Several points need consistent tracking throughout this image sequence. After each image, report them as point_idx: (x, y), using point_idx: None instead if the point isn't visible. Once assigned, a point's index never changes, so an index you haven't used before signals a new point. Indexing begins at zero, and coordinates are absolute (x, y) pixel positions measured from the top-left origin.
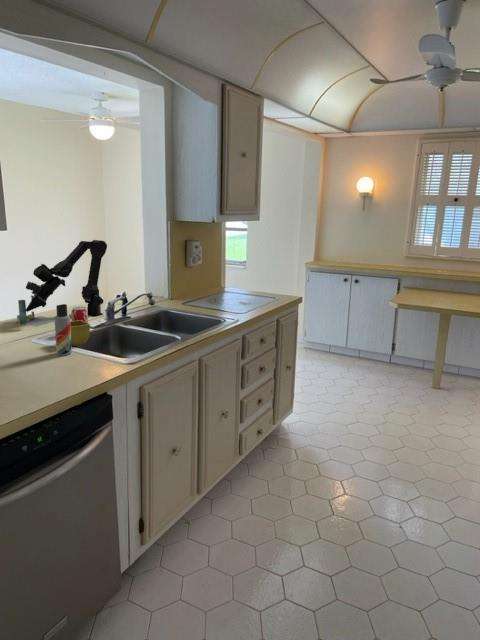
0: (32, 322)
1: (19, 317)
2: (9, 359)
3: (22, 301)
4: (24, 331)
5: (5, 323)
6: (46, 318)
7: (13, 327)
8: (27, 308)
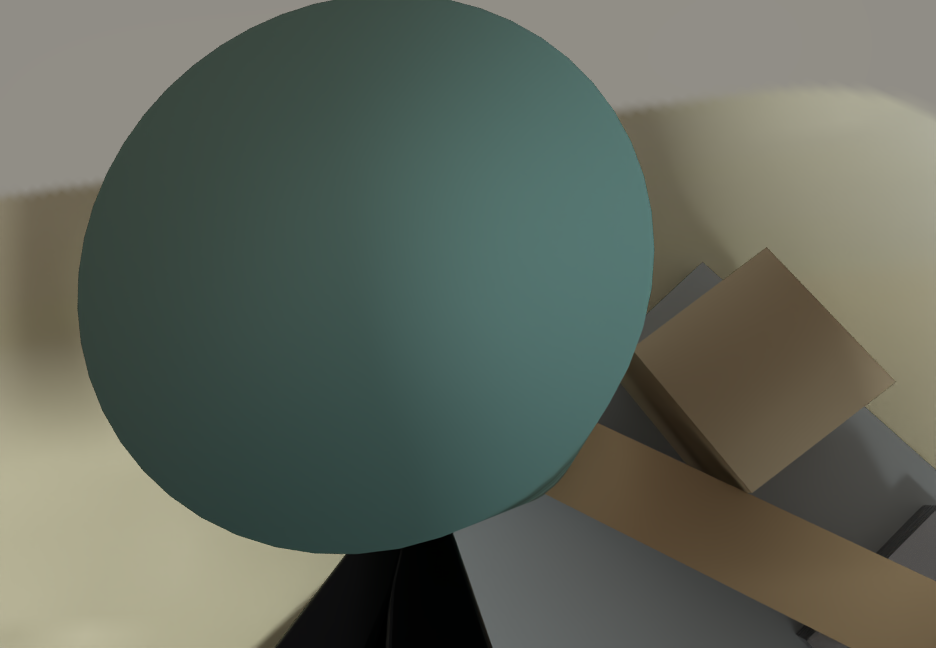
0: (576, 627)
1: (670, 323)
2: None
3: (117, 334)
4: (3, 480)
5: (680, 102)
6: None
7: None
8: (330, 599)
